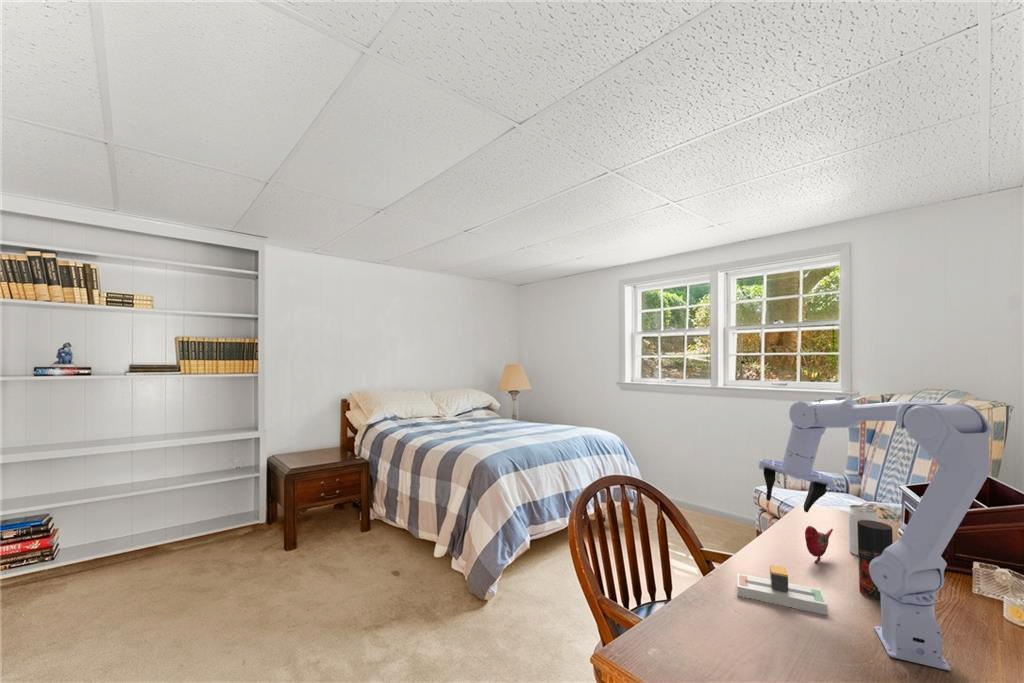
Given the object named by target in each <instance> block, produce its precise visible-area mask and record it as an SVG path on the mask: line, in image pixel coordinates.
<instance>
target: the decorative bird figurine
mask: <svg viewBox="0 0 1024 683" xmlns="http://www.w3.org/2000/svg"><path fill="white" fill-rule="evenodd" d="M833 531H834V528H831V529H829V530H828V531H827V532H826V533H823V532H820V531H818V530H817V528H816V527H814V526H812V525H811V526H810V525H808V526H807V527H806V528H805V531H804V537H805V543H806V549H807V551H808V552H809V554H810V555H812V556H813V557H816V560H814V562H813V565H815V564H816V565H817V564H819V563H820V562H821V560H822V558H821V557H823V555H824V554H825V553H826V551H827V548H828V546H829V538H830V536H831V534H832V532H833Z"/></svg>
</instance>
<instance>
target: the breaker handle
mask: <svg viewBox="0 0 1024 683" xmlns="http://www.w3.org/2000/svg"><path fill="white" fill-rule="evenodd" d="M769 571H770V572H769V575H770V576H769V577H770V581H771V587H772V589H777V590H782V591H787V592H788V583H789V574H788V570H787V567H785V566H781V565H773V564H769Z"/></svg>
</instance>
